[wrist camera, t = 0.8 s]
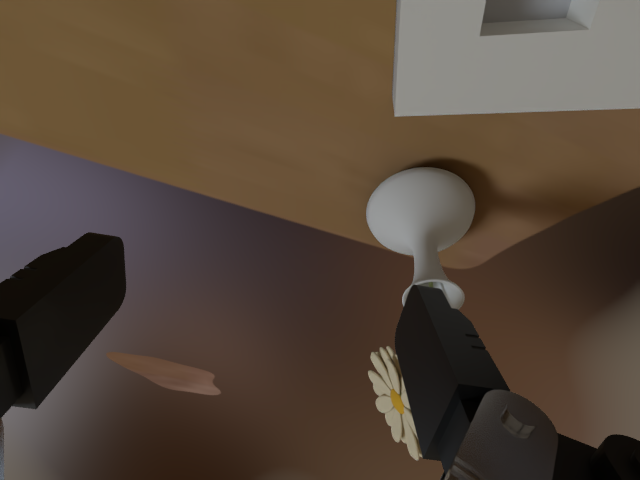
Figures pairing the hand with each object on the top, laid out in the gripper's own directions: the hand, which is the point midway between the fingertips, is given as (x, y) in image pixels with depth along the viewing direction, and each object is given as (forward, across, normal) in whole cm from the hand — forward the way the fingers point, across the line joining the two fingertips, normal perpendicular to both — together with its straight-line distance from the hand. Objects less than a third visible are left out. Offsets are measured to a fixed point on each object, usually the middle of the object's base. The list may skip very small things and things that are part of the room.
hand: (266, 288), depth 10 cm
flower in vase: (+30, -13, +7) cm, 34 cm away
